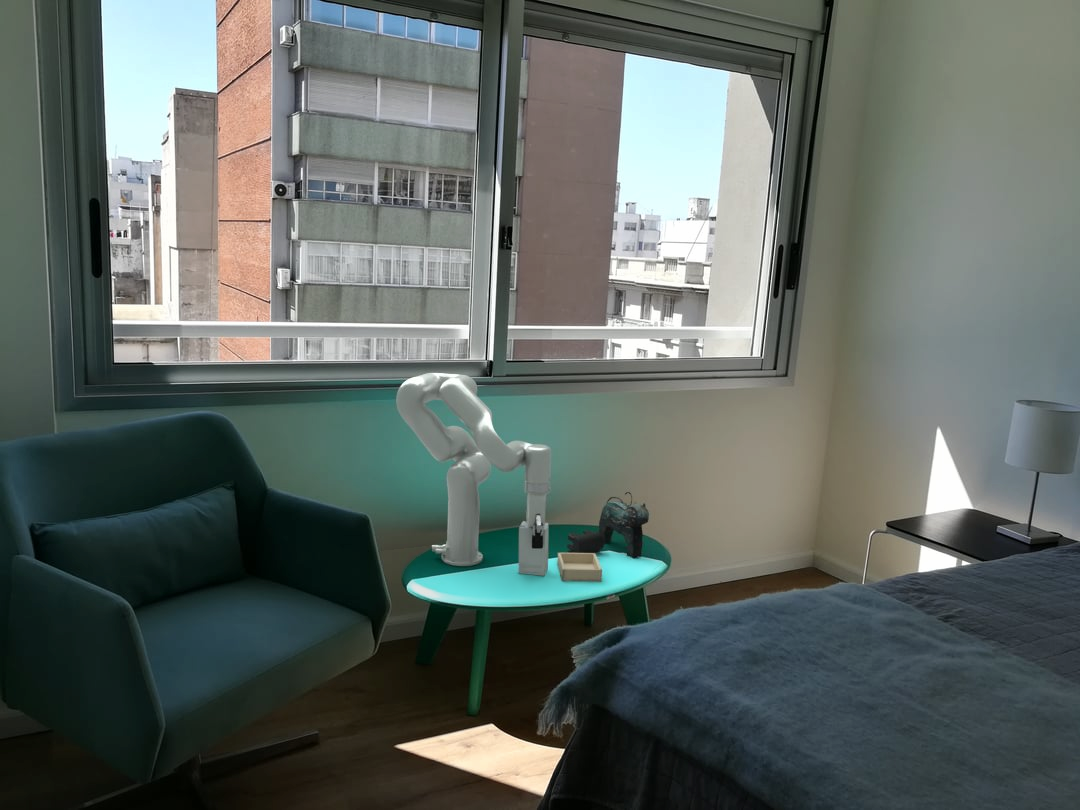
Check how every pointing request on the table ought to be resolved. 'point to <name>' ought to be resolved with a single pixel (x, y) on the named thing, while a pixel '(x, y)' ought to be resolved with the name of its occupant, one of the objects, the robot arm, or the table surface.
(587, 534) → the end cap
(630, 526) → the ceramic cat
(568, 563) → the holder
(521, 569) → the skincare box
